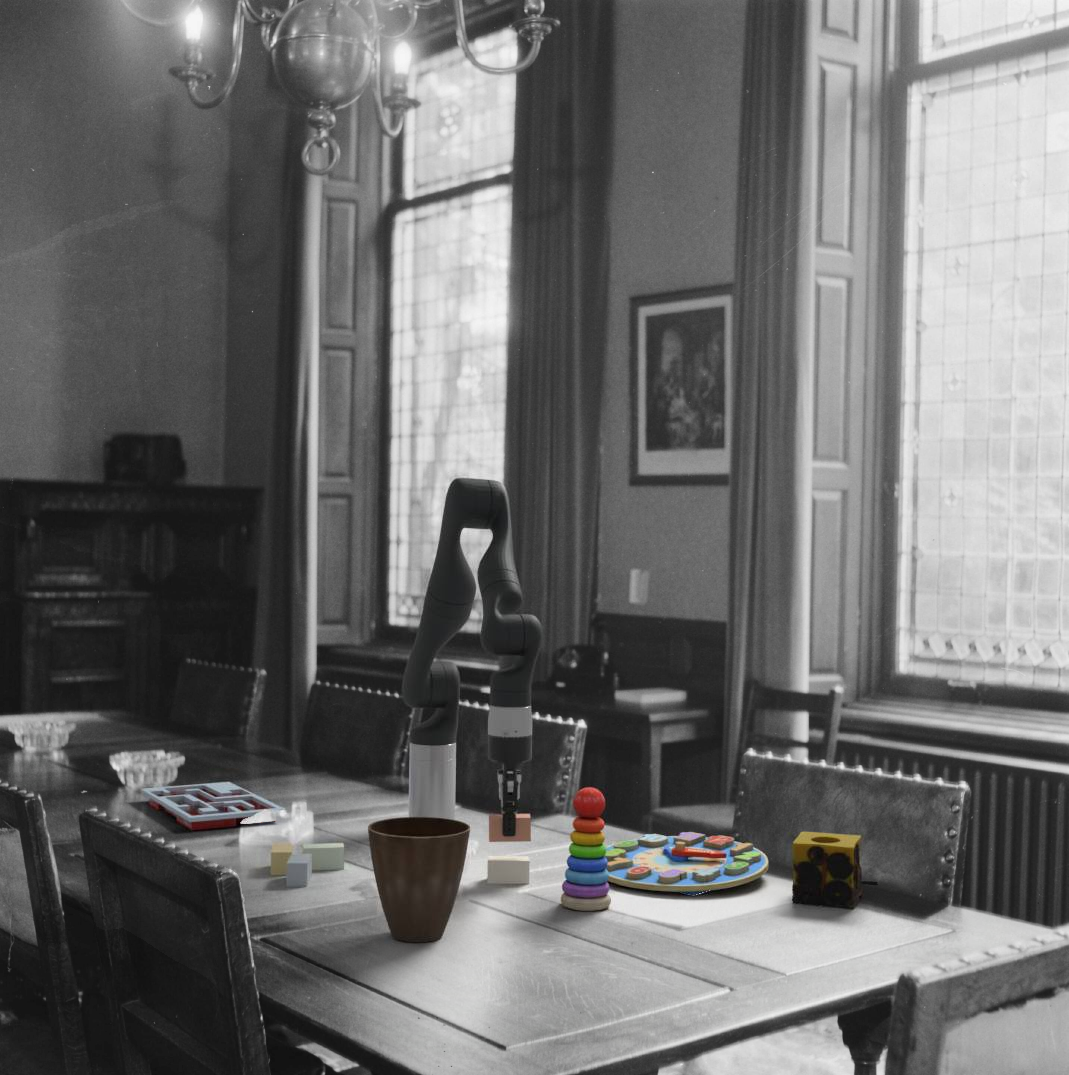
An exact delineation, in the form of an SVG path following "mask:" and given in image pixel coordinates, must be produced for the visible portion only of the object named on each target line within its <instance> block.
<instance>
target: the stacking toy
mask: <svg viewBox="0 0 1069 1075" xmlns="http://www.w3.org/2000/svg"><path fill="white" fill-rule="evenodd" d="M604 796H605V795H603V793H602V792H601V791H600V790H599V789H598V788H595V787H589V786H588V787H584V788H582V789H579V790H578V792H576V794H575V795H574V798H573V808H574V811H575V813H576V814H577V815H578V817H575V818H574V819H573V821H572V827H573V829H574V830H573V831H572V832H570V836H569V838H570V841H571V843H570V845H569V846H568V851H569V854H570V855H569V856H568V857H567V858H566V865H567V866H568V868H566V870H565V872H564V877H565V880H564V881H563V882H562V883H561V884H562V885H561V889H562V892H563V893H562V894H561V896H560V903H561V904H562V905H563V906H564V907H565V908H566V909H567V908H568V909H570V910H575V911H582V912H594V911H601V910H605V909H606V908H608V907H609V906H610V905H611V903H612V898H611V895H610V894H609V892H610V885H609V883H608V881H607V880H608V878H609V872H608V871H607V869H606V867H607V865H608V861H607V859H606V858H605V857H604V856H605V854H606V851H607V849H606V847H607V846H606V844H604V842H605V839H606V836H605V834H604V832H602V831H603V830H604V828H605V821H604V819H602V818H601V817H600V816H601V815H602V814H603V812H604V810H605V807H606V799H605V797H604Z"/></svg>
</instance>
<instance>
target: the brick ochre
mask: <svg viewBox="0 0 1069 1075" xmlns="http://www.w3.org/2000/svg"><path fill="white" fill-rule="evenodd" d="M270 851H271V852H270V876H286V875H287V862H288V860H289V858H290V856H291V854H293V843H272V845H271V850H270Z"/></svg>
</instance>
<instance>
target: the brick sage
mask: <svg viewBox="0 0 1069 1075" xmlns="http://www.w3.org/2000/svg"><path fill="white" fill-rule="evenodd" d="M302 854H312V871H330V870H331V871H332V870H335V871H336V870H345V845H344V842H332V843H330V842H329V843H303V844H302Z"/></svg>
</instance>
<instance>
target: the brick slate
mask: <svg viewBox="0 0 1069 1075" xmlns="http://www.w3.org/2000/svg"><path fill="white" fill-rule="evenodd" d="M312 872H313V870H312V854H303V853H292V854H291V856H290V858H289V860H288V862H287V875H285V876H286V884H285V885H286V887H291V888H293V887H296V888H297V887H299V888H300V887H301V888H302V887H308V885H309V883H310V880H311V879H312V876H313V873H312Z"/></svg>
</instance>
